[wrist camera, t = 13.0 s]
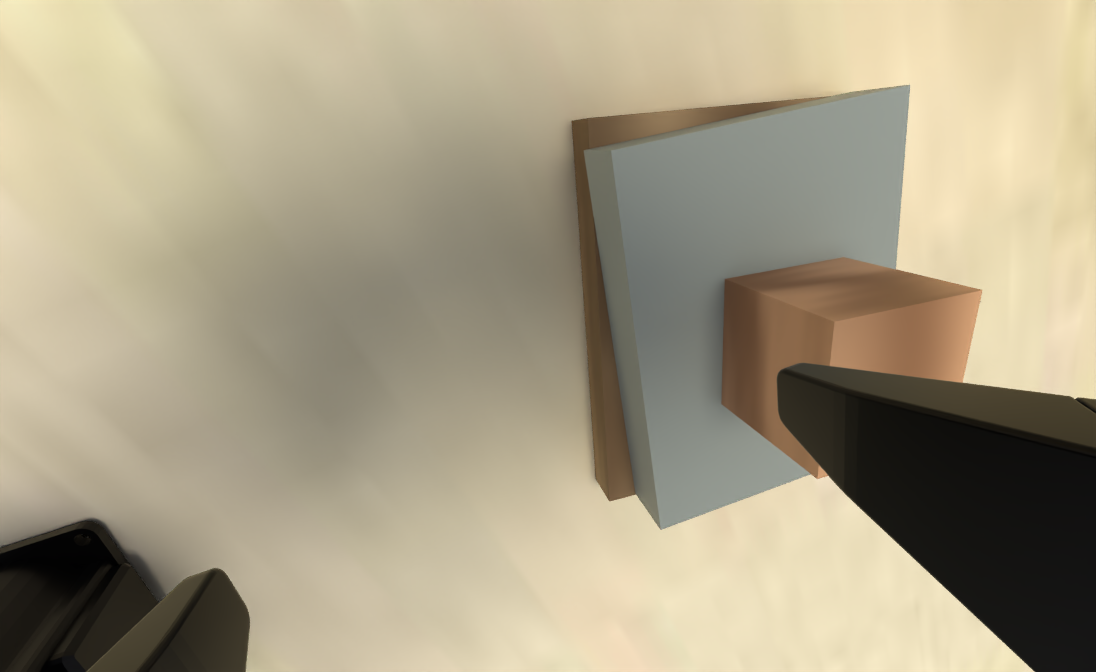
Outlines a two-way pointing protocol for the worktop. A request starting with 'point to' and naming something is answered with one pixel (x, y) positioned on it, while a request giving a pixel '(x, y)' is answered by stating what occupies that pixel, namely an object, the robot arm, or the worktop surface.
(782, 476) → the slate grey slab
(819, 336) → the terracotta block
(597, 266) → the walnut slab
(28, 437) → the worktop surface
